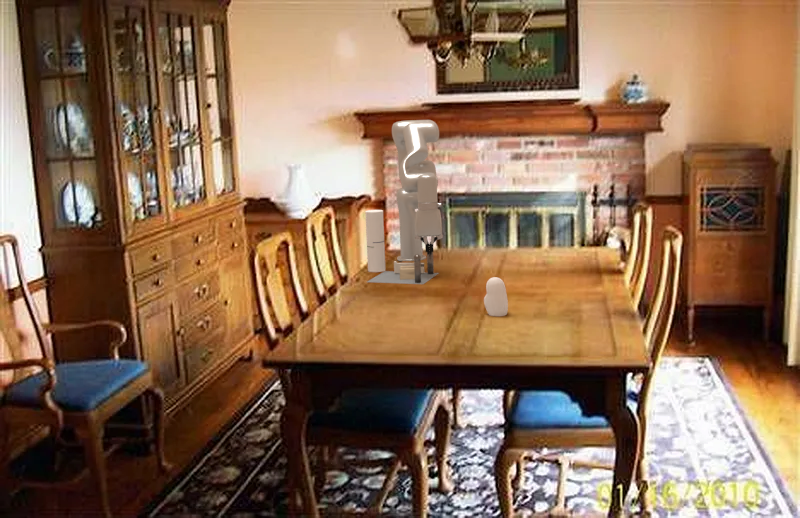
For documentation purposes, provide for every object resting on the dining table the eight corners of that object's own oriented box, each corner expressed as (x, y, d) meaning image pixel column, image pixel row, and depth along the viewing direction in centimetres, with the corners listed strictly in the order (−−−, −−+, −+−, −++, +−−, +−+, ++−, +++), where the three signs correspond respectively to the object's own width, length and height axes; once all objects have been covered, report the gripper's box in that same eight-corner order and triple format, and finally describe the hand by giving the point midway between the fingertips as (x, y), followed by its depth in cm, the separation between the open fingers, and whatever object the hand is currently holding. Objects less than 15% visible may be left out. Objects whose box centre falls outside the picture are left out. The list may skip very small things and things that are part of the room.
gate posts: (428, 272, 365) (427, 246, 363) (434, 273, 364) (434, 246, 362) (413, 282, 348) (412, 255, 346) (420, 283, 347) (419, 255, 345)
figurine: (501, 309, 305) (500, 274, 302) (512, 314, 298) (511, 278, 295) (482, 312, 302) (481, 276, 300) (492, 317, 295) (491, 281, 293)
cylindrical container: (385, 273, 371) (382, 211, 366) (367, 273, 371) (364, 212, 367) (385, 269, 378) (383, 209, 373) (368, 270, 378) (365, 210, 374)
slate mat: (385, 272, 372) (385, 271, 372) (439, 274, 365) (439, 272, 365) (366, 283, 353) (366, 282, 353) (423, 285, 345) (423, 284, 345)
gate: (424, 272, 365) (424, 260, 364) (424, 273, 363) (423, 261, 363) (394, 272, 367) (394, 261, 366) (394, 273, 365) (393, 261, 365)
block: (401, 276, 361) (400, 266, 360) (416, 275, 361) (416, 265, 360) (400, 279, 355) (399, 269, 354) (415, 279, 355) (415, 269, 354)
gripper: (447, 205, 355) (449, 252, 358) (409, 206, 356) (410, 253, 359) (447, 207, 348) (448, 255, 351) (407, 208, 349) (409, 256, 352)
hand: (429, 253), depth 355 cm, fingers closed
